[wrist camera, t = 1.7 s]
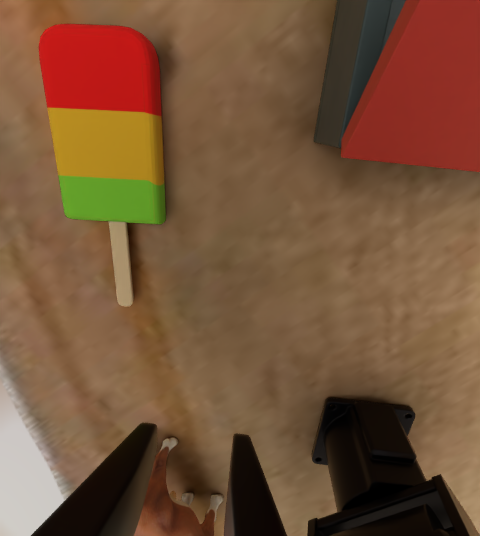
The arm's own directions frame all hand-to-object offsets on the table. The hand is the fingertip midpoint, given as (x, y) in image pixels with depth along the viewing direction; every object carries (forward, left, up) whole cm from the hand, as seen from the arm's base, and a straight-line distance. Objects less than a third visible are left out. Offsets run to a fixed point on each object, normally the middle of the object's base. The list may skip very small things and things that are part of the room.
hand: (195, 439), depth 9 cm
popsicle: (+4, +7, -13) cm, 15 cm away
